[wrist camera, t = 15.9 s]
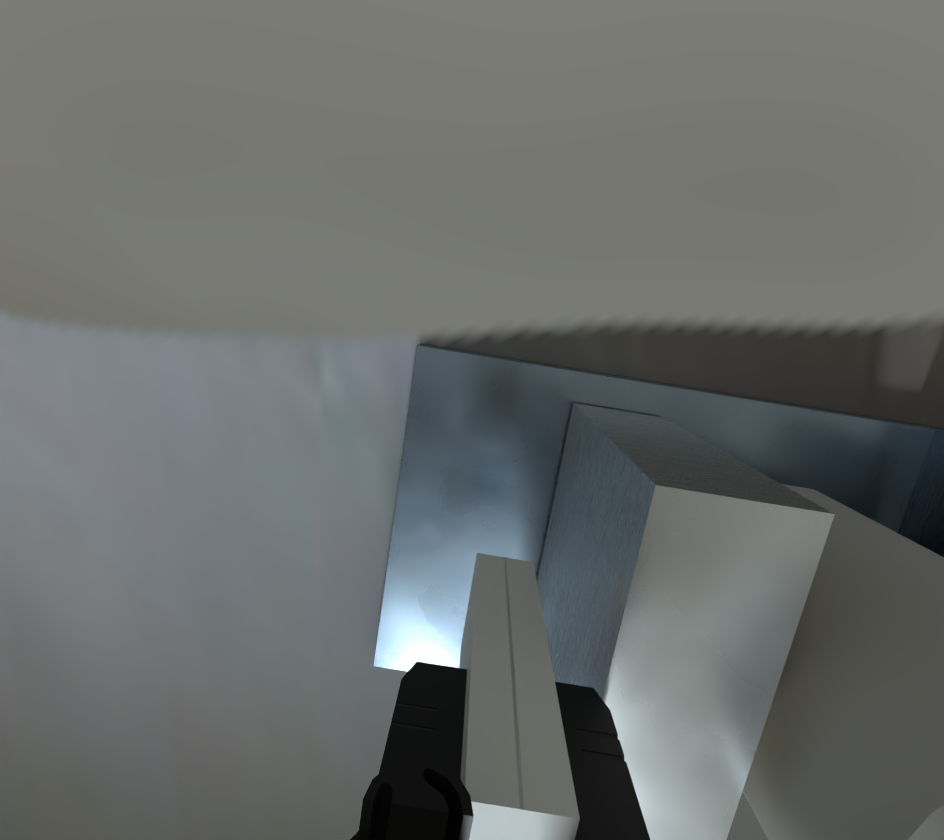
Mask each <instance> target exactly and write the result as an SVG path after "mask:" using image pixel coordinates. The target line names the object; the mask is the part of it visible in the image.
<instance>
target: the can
mask: <svg viewBox="0 0 944 840" xmlns="http://www.w3.org/2000/svg"><path fill="white" fill-rule="evenodd" d="M782 485H784V484H782ZM784 486H786V487H788V488H789V489H791V490H793V491H795V492H797V493H798V494H800V495H802V496H804V497H805V498H807V499H809V500H811V501H812V502H814V503H816V504H818V505H819V506H821V507H823V508H825V509H827V510H828V511H830V512H832V513H834V514H835V515H834V518H833V521H832V524H831V527H830V530H829V533H828V536H827V539H826V542H825V545H824V548H823V551H822V554H821V557H820V560H819V563H818V566H817V569H816V572H815V575H814V578H813V581H812V584H811V587H810V590H809V593H808V596H807V599H806V602H805V605H804V608H803V611H802V614H801V617H800V620H799V623H798V626H797V629H796V632H795V635H794V638H793V641H792V644H791V647H790V650H789V653H788V656H787V659H786V662H785V665H784V668H783V671H782V674H781V677H780V680H779V683H778V686H777V689H776V692H775V695H774V698H773V701H772V704H771V707H770V710H769V713H768V716H767V719H766V722H765V725H764V728H763V731H762V734H761V737H760V740H759V743H758V746H757V749H756V752H755V755H754V758H753V761H752V764H751V767H750V770H749V773H748V776H747V779H746V782H745V785H744V788H743V793H744V795H745V797H746V799H747V800H748V802H749V804H750V806H751V808H752V810H753V812H754V813H755V815H756V817H757V819H758V821H759V823H760V825H761V826H762V828H763V830H764V832H765V834H766V836H767V838H768V839H769V840H944V557H942V556H940V555H938V554H936V553H934V552H933V551H931V550H929V549H927V548H925V547H923V546H921V545H919V544H917V543H915V542H913V541H912V540H910V539H908V538H906V537H904V536H902V535H900V534H898V533H896V532H894V531H893V530H891V529H889V528H887V527H885V526H883V525H881V524H879V523H877V522H875V521H874V520H872V519H870V518H868V517H866V516H864V515H862V514H860V513H858V512H856V511H854V510H853V509H851V508H849V507H847V506H845V505H843V504H841V503H839V502H837V501H835V500H833V499H832V498H830V497H828V496H826V495H824V494H822V493H820V492H818V491H816V490H814V489H809V488H803V487H796V486H790V485H784Z"/></svg>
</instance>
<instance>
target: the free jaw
mask: <svg viewBox="0 0 944 840" xmlns="http://www.w3.org/2000/svg"><path fill="white" fill-rule="evenodd" d="M834 515H835V514H834V513H832V512H830V511H828V510H827V509H825V508H823V507H821V506H819V505H818V504H816V503H814V502H812V501H811V500H809V499H807V498H805V497H804V496H802V495H800V494H798V493H797V492H795V491H793V490H791V489H789V488H788V487H786V486H784V485H782V484H781V483H779V482H777V481H775V480H774V479H772V478H770V477H768V476H766V475H765V474H763V473H761V472H759V471H758V470H756V469H754V468H752V467H751V466H749V465H747V464H745V463H744V462H742V461H740V460H738V459H736V458H735V457H733V456H731V455H729V454H728V453H726V452H724V451H722V450H721V449H719V448H717V447H715V446H714V445H712V444H710V443H708V442H706V441H705V440H703V439H701V438H699V437H698V436H696V435H694V434H692V433H691V432H689V431H687V430H685V429H683V428H682V427H680V426H678V425H676V424H675V423H673V422H671V421H669V420H668V419H666V418H663V417H657V416H650V415H644V414H638V413H632V412H626V411H620V410H614V409H607V408H601V407H595V406H589V405H583V404H577V403H573V406H572V411H571V416H570V421H569V426H568V431H567V436H566V441H565V445H564V450H563V455H562V460H561V465H560V470H559V475H558V479H557V484H556V489H555V494H554V499H553V504H552V509H551V514H550V518H549V523H548V528H547V533H546V538H545V543H544V548H543V553H542V557H541V562H540V567H539V572H538V577H537V586H538V591H539V597H540V602H541V608H542V613H543V619H544V624H545V630H546V635H547V641H548V646H549V652H550V658H551V663H552V669H553V674H554V680H555V682H560V683H567V684H573V685H579V686H586V687H592V688H594V689H595V691H596V692H597V693H598V695H599V696H600V697H601V699H602V700H603V701H604V703H605V704H606V705H607V707H608V708H609V709H610V711H611V714H612V717H613V721H614V724H615V727H616V730H617V734H618V740H620V743H621V746H622V750H623V753H624V761H625V762H626V763H627V766H628V769H629V772H630V776H631V779H632V782H633V785H634V788H635V792H636V795H637V798H638V801H639V805H640V808H641V811H642V814H643V818H644V821H645V824H646V827H647V831H648V834H649V837H650V840H726V839H727V836H728V833H729V830H730V827H731V824H732V821H733V818H734V815H735V812H736V809H737V806H738V803H739V800H740V797H741V794H742V791H743V788H744V785H745V782H746V779H747V776H748V773H749V770H750V767H751V764H752V761H753V758H754V755H755V752H756V749H757V746H758V743H759V740H760V737H761V734H762V731H763V728H764V725H765V722H766V719H767V716H768V713H769V710H770V707H771V704H772V701H773V698H774V695H775V692H776V689H777V686H778V683H779V680H780V677H781V674H782V671H783V668H784V665H785V662H786V659H787V656H788V653H789V650H790V647H791V644H792V641H793V638H794V635H795V632H796V629H797V626H798V623H799V620H800V617H801V614H802V611H803V608H804V605H805V602H806V599H807V596H808V593H809V590H810V587H811V584H812V581H813V578H814V575H815V572H816V569H817V566H818V563H819V560H820V557H821V554H822V551H823V548H824V545H825V542H826V539H827V536H828V533H829V530H830V527H831V524H832V521H833V518H834Z"/></svg>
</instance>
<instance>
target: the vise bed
mask: <svg viewBox="0 0 944 840" xmlns="http://www.w3.org/2000/svg"><path fill="white" fill-rule="evenodd" d="M573 403H577V404H583V405H589V406H595V407H601V408H607V409H614V410H620V411H626V412H632V413H638V414H644V415H650V416H657V417H663V418H666V419H668V420H669V421H671V422H673V423H675V424H676V425H678V426H680V427H682V428H683V429H685V430H687V431H689V432H691V433H692V434H694V435H696V436H698V437H699V438H701V439H703V440H705V441H706V442H708V443H710V444H712V445H714V446H715V447H717V448H719V449H721V450H722V451H724V452H726V453H728V454H729V455H731V456H733V457H735V458H736V459H738V460H740V461H742V462H744V463H745V464H747V465H749V466H751V467H752V468H754V469H756V470H758V471H759V472H761V473H763V474H765V475H766V476H768V477H770V478H772V479H774V480H775V481H777V482H779V483H781V484H784V485H790V486H796V487H803V488H809V489H814V490H816V491H818V492H820V493H822V494H824V495H826V496H828V497H830V498H832V499H833V500H835V501H837V502H839V503H841V504H843V505H845V506H847V507H849V508H851V509H853V510H854V511H856V512H858V513H860V514H862V515H864V516H866V517H868V518H870V519H872V520H874V521H875V522H877V523H879V524H881V525H883V526H885V527H887V528H889V529H891V530H893V531H894V532H896V533H898V534H900V535H902V536H904V537H906V538H908V539H910V540H912V541H913V542H915V543H917V544H919V545H921V546H923V547H925V548H927V549H929V550H931V551H933V552H934V553H936V554H938V555H940V556H942V557H944V429H940V428H934V427H928V426H922V425H916V424H910V423H903V422H897V421H891V420H885V419H879V418H873V417H867V416H860V415H854V414H848V413H842V412H836V411H830V410H824V409H817V408H811V407H805V406H799V405H793V404H787V403H781V402H775V401H768V400H762V399H756V398H750V397H744V396H738V395H732V394H725V393H719V392H713V391H707V390H701V389H695V388H689V387H682V386H676V385H670V384H664V383H658V382H652V381H646V380H640V379H633V378H627V377H621V376H615V375H609V374H603V373H597V372H590V371H584V370H578V369H572V368H566V367H560V366H554V365H547V364H541V363H535V362H529V361H523V360H517V359H511V358H505V357H498V356H492V355H486V354H480V353H474V352H468V351H462V350H455V349H449V348H443V347H437V346H431V345H425V344H420V345H417V351H416V358H415V366H414V373H413V380H412V388H411V395H410V403H409V410H408V417H407V425H406V432H405V440H404V447H403V454H402V462H401V469H400V477H399V484H398V491H397V499H396V506H395V514H394V521H393V528H392V536H391V543H390V551H389V558H388V565H387V573H386V580H385V588H384V595H383V602H382V610H381V617H380V625H379V632H378V639H377V647H376V654H375V662H374V666H377V667H383V668H390V669H396V670H402V671H409V670H410V669H411V668H412V666H413V665H414V664H415V663H416V662H424V663H430V664H436V665H442V666H449V667H455V668H459V664H460V652H461V643H462V637H463V631H464V626H465V620H466V614H467V608H468V602H469V596H470V590H471V585H472V579H473V573H474V567H475V561H476V555H477V553H481V554H487V555H493V556H500V557H506V558H512V559H518V560H525V561H531V562H533V564H534V569H535V575H536V580H537V577H538V572H539V567H540V562H541V557H542V553H543V548H544V543H545V538H546V533H547V528H548V523H549V518H550V514H551V509H552V504H553V499H554V494H555V489H556V484H557V479H558V475H559V470H560V465H561V460H562V455H563V450H564V445H565V441H566V436H567V431H568V426H569V421H570V416H571V411H572V406H573Z"/></svg>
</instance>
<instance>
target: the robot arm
mask: <svg viewBox="0 0 944 840" xmlns="http://www.w3.org/2000/svg"><path fill="white" fill-rule="evenodd" d="M350 840H650V837H649V834H648V831H647V827H646V824H645V821H644V818H643V814H642V811H641V808H640V805H639V801H638V798H637V795H636V792H635V788H634V785H633V782H632V779H631V776H630V772H629V769H628V766H627V763H626V762H625V761H624V753H623V750H622V746H621V743H620V740H618V734H617V730H616V727H615V724H614V721H613V717H612V714H611V711H610V709H609V708H608V707H607V705H606V704H605V703H604V701H603V700H602V699H601V697H600V696H599V695H598V693H597V692H596V691H595V689H594V688H592V687H586V686H579V685H573V684H567V683H560V682H555V680H554V674H553V669H552V663H551V658H550V652H549V646H548V641H547V635H546V630H545V624H544V619H543V613H542V608H541V602H540V597H539V591H538V586H537V580H536V575H535V569H534V564H533V562H531V561H525V560H518V559H512V558H506V557H500V556H493V555H487V554H481V553H477V555H476V561H475V567H474V573H473V579H472V585H471V590H470V596H469V602H468V608H467V614H466V620H465V626H464V631H463V637H462V643H461V652H460V664H459V668H455V667H449V666H442V665H436V664H430V663H424V662H416V663H415V664H414V665H413V666H412V668H411V669H410V670H409V671H408V672H407V673H406V675H405V676H404V677H403V678H402V680H401V684H400V688H399V692H398V697H397V701H396V706H395V709H394V713H393V717H392V722H391V726H390V730H389V734H388V738H387V742H386V746H385V751H384V755H383V759H382V763H381V767H380V771H379V774H378V775H377V776H376V777H375V778H374V779H373V780H372V782H371V784H370V786H369V788H368V790H367V792H366V794H365V796H364V798H363V804H362V811H361V819H360V826H359V831H358V832H357V834H355V835H354V836H353V837H352V838H351V839H350Z"/></svg>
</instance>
